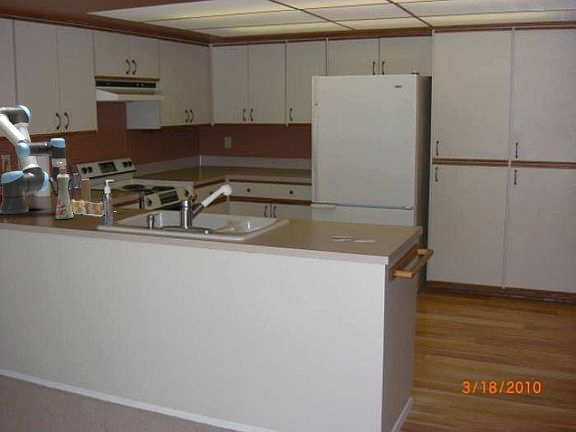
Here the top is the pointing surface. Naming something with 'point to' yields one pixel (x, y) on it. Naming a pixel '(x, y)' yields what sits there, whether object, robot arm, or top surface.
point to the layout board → (88, 214)
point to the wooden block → (85, 190)
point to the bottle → (63, 196)
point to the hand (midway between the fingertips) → (61, 207)
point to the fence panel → (78, 206)
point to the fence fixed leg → (94, 208)
